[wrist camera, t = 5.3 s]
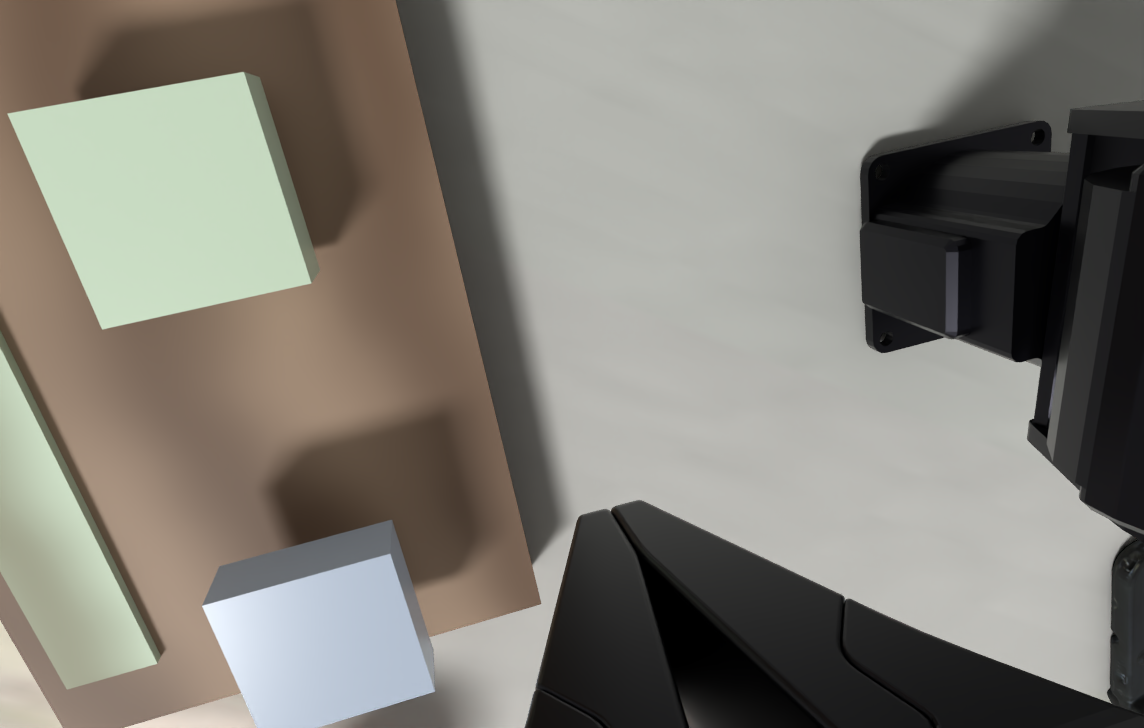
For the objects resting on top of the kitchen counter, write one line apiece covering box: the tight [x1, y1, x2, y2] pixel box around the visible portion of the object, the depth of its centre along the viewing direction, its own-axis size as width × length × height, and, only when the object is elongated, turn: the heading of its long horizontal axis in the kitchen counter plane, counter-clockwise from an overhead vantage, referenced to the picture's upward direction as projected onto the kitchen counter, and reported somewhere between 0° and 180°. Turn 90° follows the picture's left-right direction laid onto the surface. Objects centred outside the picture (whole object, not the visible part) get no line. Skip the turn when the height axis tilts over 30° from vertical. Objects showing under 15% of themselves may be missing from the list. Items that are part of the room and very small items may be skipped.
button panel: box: [0, 0, 541, 728], centre depth 17 cm, size 14×28×2 cm, turn 11°
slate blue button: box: [202, 520, 435, 728], centre depth 18 cm, size 4×4×2 cm
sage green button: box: [8, 72, 320, 329], centre depth 15 cm, size 4×4×2 cm
